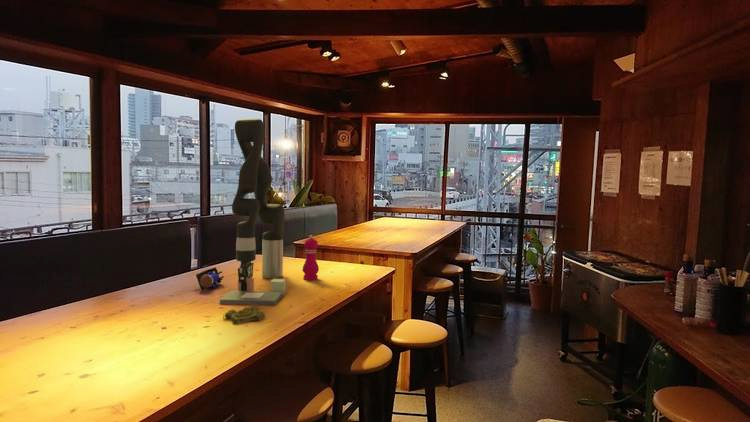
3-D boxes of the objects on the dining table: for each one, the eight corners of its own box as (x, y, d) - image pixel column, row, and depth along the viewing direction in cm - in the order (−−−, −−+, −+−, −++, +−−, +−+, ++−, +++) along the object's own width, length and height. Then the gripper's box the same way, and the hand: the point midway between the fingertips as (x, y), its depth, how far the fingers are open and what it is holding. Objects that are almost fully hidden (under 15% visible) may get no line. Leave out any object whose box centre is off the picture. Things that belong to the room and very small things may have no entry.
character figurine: (226, 284, 209) (208, 293, 195) (210, 282, 210) (191, 290, 196) (227, 266, 209) (210, 273, 194) (211, 264, 210) (193, 271, 195)
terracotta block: (241, 290, 199) (241, 277, 199) (253, 290, 199) (253, 278, 199) (237, 292, 194) (237, 280, 194) (250, 293, 194) (250, 280, 194)
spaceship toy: (274, 311, 172) (274, 301, 172) (254, 327, 154) (254, 315, 154) (240, 309, 174) (240, 299, 173) (217, 324, 156) (217, 313, 156)
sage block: (273, 291, 199) (273, 278, 199) (285, 291, 199) (285, 279, 199) (270, 294, 194) (270, 281, 194) (283, 294, 194) (283, 281, 194)
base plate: (231, 294, 192) (231, 290, 192) (282, 295, 191) (283, 291, 191) (219, 303, 178) (219, 299, 178) (274, 305, 178) (274, 300, 177)
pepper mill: (300, 277, 224) (301, 234, 222) (315, 276, 227) (316, 233, 225) (305, 281, 217) (305, 236, 216) (320, 280, 220) (321, 235, 219)
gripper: (250, 251, 188) (250, 295, 189) (259, 246, 202) (259, 286, 204) (230, 251, 188) (230, 294, 190) (241, 245, 203) (241, 286, 204)
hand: (245, 290), depth 197 cm, fingers closed on terracotta block, 5 cm apart
